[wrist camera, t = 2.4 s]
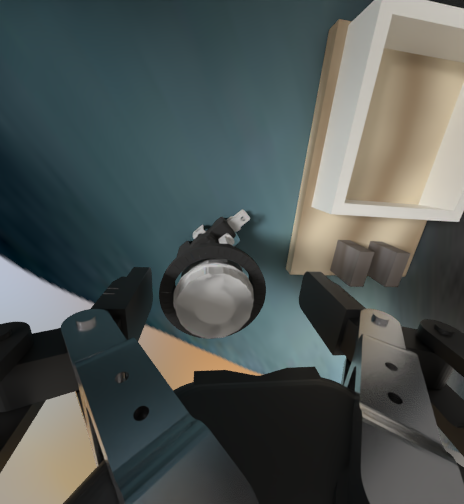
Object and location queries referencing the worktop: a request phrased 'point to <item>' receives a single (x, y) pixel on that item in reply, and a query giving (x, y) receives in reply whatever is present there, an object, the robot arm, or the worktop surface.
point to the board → (375, 166)
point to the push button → (213, 283)
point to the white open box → (358, 100)
